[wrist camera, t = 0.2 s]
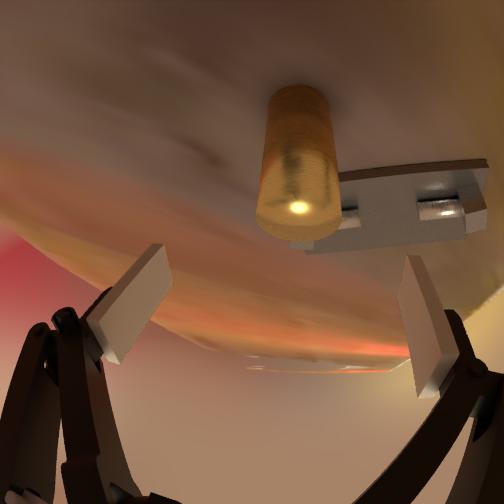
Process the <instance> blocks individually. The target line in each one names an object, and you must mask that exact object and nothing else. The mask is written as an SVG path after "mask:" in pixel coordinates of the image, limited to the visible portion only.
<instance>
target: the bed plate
mask: <svg viewBox="0 0 504 504" xmlns="http://www.w3.org/2000/svg"><path fill="white" fill-rule="evenodd" d="M488 171H489V166H488V164H487V162H486V160H485V159H480V160H462V161H448V162H435V163H423V164H412V165H402V166H393V167H384V168H375V169H367V170H359V171H352V172H344V173H338V177H339V187H340V198H341V211H342V222H341V225H340V227H339V228H338V229H337V230H336V231H335V232H334V233H333V234H331V235H329V236H327V237H325V238H322V239H319V240H315V241H308V242H295V241H290V249H301V250H304V251H305V253H306V255H312V254H322V253H332V252H342V251H352V250H362V249H372V248H382V247H392V246H402V245H411V244H421V243H430V242H440V241H449V240H459V239H466V237H467V235H468V233H472V232H476V231H480V230H484V229H487V207H486V204H485V201H484V199H483V196H482V192H483V188H484V185H485V182H486V178H487V175H488Z"/></svg>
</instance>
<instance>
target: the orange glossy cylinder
mask: <svg viewBox="0 0 504 504" xmlns="http://www.w3.org/2000/svg"><path fill="white" fill-rule="evenodd" d="M256 219H257V222H258V224H259V226H260V227H261V228H262V229H263V230H264V231H265V232H267V233H268V234H270V235H272V236H274V237H276V238H279V239H283V240H287V241H295V242H308V241H315V240H319V239H322V238H325V237H327V236H329V235H331V234H333V233H334V232H335V231H336V230H337V229H338V228H339V227H340V225H341V222H342V211H341V198H340V187H339V177H338V168H337V159H336V150H335V142H334V135H333V128H332V121H331V114H330V108H329V103H328V101H327V99H326V98H325V96H324V95H323V94H322V93H320V92H319V91H318V90H316V89H314V88H312V87H309V86H304V85H292V86H287V87H285V88H282V89H281V90H279V91H278V92H276V93H275V94H274V95H273V97H272V98H271V100H270V102H269V108H268V116H267V125H266V134H265V143H264V151H263V160H262V169H261V178H260V186H259V195H258V204H257V213H256Z"/></svg>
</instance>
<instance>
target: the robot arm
mask: <svg viewBox="0 0 504 504" xmlns="http://www.w3.org/2000/svg"><path fill="white" fill-rule="evenodd" d="M173 284H174V283H173V279H172V275H171V271H170V267H169V263H168V259H167V255H166V251H165V246H164V244H152V245H151V246H150V247H149V248H148V249H147V250H146V251H145V252H144V253H143V254H142V256H141V257H140V258H139V259H138V260H137V261H136V262H135V263H134V264H133V265H132V266H131V268H130V269H129V270H128V271H127V272H126V273H125V274H124V275H123V276H122V277H121V279H120V280H119V281H118V282H117V283H116V284H115V285H114V287H110V288H108V289H107V290H105V291H104V292H103V293H102V294H101V295H100V296H99V297H98V299H97V300H96V301H95V302H94V303H93V305H91V306H90V307H89V309H88V310H87V311H86V312H85V313H84V314H83V316H82V317H81V318H80V319H79V318H78V316H77V314H76V312H75V310H74V309H73V308H72V307H65V308H62V309H60V310H58V311H57V312H55V314H54V315H53V316H52V319H51V321H52V322H53V324H54V326H55V328H56V330H51V329H50V328H49V326H48V325H47V323H45V322H41V323H37V324H36V325H34V326H33V327H32V328H31V329H30V330H29V332H28V335H27V337H26V340H25V342H24V345H23V347H22V350H21V353H20V356H19V358H18V361H17V365H16V367H15V370H14V373H13V376H12V379H11V382H10V386H9V389H8V392H7V396H6V400H5V403H4V407H3V411H2V414H1V419H0V504H53V499H54V493H55V477H56V460H57V448H58V438H59V430H60V422H61V420H62V428H63V437H64V444H65V451H66V457H67V461H66V462H65V463H62V465H61V474H62V479H63V484H64V489H65V494H66V498H67V502H68V504H182V503H180V502H178V501H176V500H172V499H169V498H166V497H163V496H160V495H158V494H155V493H152V492H151V493H150V495H149V496H142V494H141V492H140V490H139V488H138V487H137V485H136V484H135V483H134V481H133V479H132V477H131V474H130V471H129V468H128V465H127V462H126V459H125V455H124V452H123V449H122V445H121V442H120V438H119V435H118V431H117V427H116V424H115V419H114V415H113V411H112V407H111V403H110V399H109V394H108V389H107V384H106V379H105V373H104V368H103V362H102V360H101V358H100V357H101V356H102V354H103V353H104V354H105V356H106V358H107V360H108V361H110V362H113V363H117V364H121V363H122V361H123V360H124V358H125V357H126V355H127V353H128V352H129V350H130V349H131V347H132V346H133V344H134V342H135V341H136V339H137V338H138V336H139V335H140V333H141V332H142V330H143V329H144V327H145V326H146V324H147V322H148V321H149V320H150V318H151V317H152V315H153V313H154V312H155V310H156V309H157V308H158V306H159V305H160V303H161V302H162V300H163V299H164V297H165V296H166V294H167V293H168V291H169V290H170V288H171V287H172V285H173ZM397 299H398V303H399V307H400V311H401V315H402V320H403V324H404V328H405V333H406V337H407V342H408V347H409V352H410V357H411V362H412V368H413V373H414V379H415V385H416V392H417V398H418V399H419V398H433V397H434V396H435V395H436V393H437V391H438V390H439V391H440V399H439V400H438V402H437V403H436V405H435V406H434V408H433V409H432V411H431V412H430V414H429V415H428V417H427V418H426V420H425V421H424V422H423V424H422V425H421V426H420V428H419V429H418V430H417V432H416V433H415V434H414V436H413V437H412V438H411V440H410V441H409V442H408V443H407V445H406V446H405V447H404V448H403V450H402V451H401V452H400V453H399V454H398V456H397V457H396V458H395V459H394V460H393V461H392V462H391V464H390V465H389V466H388V467H387V468H386V469H385V471H384V472H383V473H382V474H381V475H380V476H379V477H378V478H377V479H376V480H375V481H374V482H373V483H372V484H371V485H370V486H369V488H367V489H366V491H364V492H363V493H362V494H361V495H360V496H359V497H358V498H357V499H356V500H355V501H354V502H353V503H352V504H411V502H412V501H413V500H414V499H415V498H416V496H417V495H418V494H419V493H420V491H421V490H422V489H423V487H424V486H425V485H426V484H427V482H428V481H429V480H430V478H431V477H432V475H433V474H434V473H435V471H436V470H437V468H438V467H439V465H440V464H441V462H442V461H443V459H444V458H445V456H446V455H447V453H448V452H449V450H450V449H451V447H452V445H453V444H454V442H455V441H456V439H457V437H458V436H459V434H460V432H461V430H462V429H463V427H464V425H465V423H466V421H467V420H468V417H473V418H474V421H473V425H472V429H471V433H470V436H469V440H468V443H467V446H466V450H465V453H464V456H463V459H462V462H461V465H460V468H459V471H458V474H457V476H456V479H455V482H454V484H453V487H452V489H451V492H450V494H449V496H448V499H447V501H446V503H445V504H504V374H501V373H497V372H492V371H489V370H488V367H487V366H486V364H485V363H484V362H483V361H481V360H480V359H477V358H476V357H475V354H474V351H473V348H472V346H471V343H470V340H469V338H468V335H467V334H466V330H465V328H464V325H463V323H462V320H461V318H460V316H459V315H458V314H457V313H456V312H455V311H454V310H444V309H443V306H442V304H441V301H440V299H439V297H438V294H437V292H436V289H435V287H434V285H433V282H432V280H431V278H430V276H429V273H428V271H427V269H426V267H425V265H424V262H423V260H422V258H421V256H413V255H407V258H406V263H405V267H404V272H403V276H402V280H401V285H400V289H399V293H398V297H397ZM44 362H45V363H46V367H45V368H44Z"/></svg>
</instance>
